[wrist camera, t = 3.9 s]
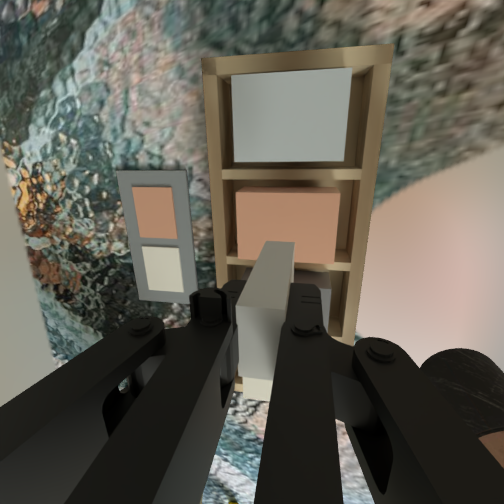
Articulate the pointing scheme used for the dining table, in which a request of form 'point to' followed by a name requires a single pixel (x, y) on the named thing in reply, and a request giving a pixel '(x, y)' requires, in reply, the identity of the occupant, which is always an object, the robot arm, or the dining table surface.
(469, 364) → the travel mug
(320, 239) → the key terracotta
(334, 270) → the wooden compartment tray
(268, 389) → the cream rectangular block
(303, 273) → the grey rectangular block
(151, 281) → the card
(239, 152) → the key bluegrey
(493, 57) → the dining table surface
